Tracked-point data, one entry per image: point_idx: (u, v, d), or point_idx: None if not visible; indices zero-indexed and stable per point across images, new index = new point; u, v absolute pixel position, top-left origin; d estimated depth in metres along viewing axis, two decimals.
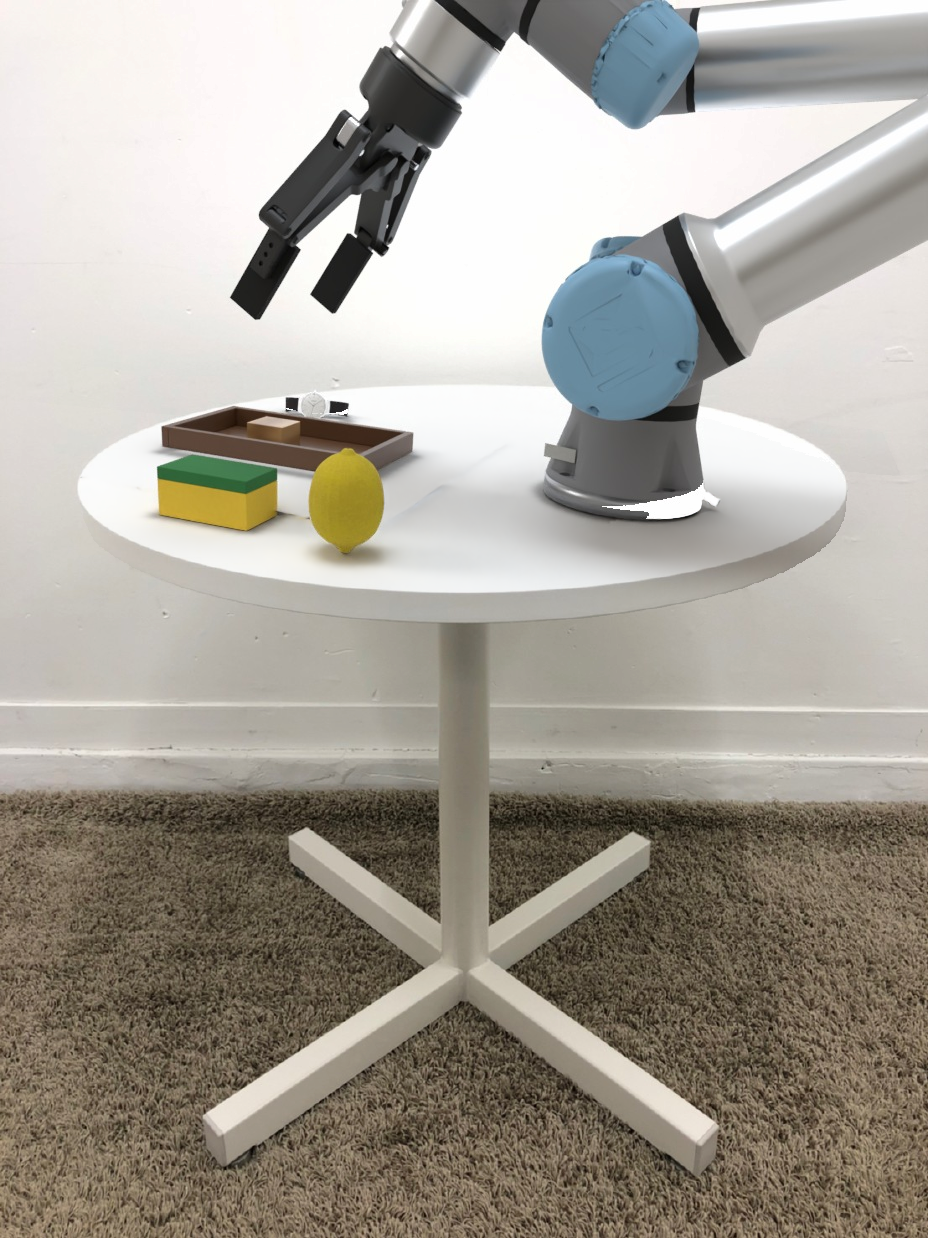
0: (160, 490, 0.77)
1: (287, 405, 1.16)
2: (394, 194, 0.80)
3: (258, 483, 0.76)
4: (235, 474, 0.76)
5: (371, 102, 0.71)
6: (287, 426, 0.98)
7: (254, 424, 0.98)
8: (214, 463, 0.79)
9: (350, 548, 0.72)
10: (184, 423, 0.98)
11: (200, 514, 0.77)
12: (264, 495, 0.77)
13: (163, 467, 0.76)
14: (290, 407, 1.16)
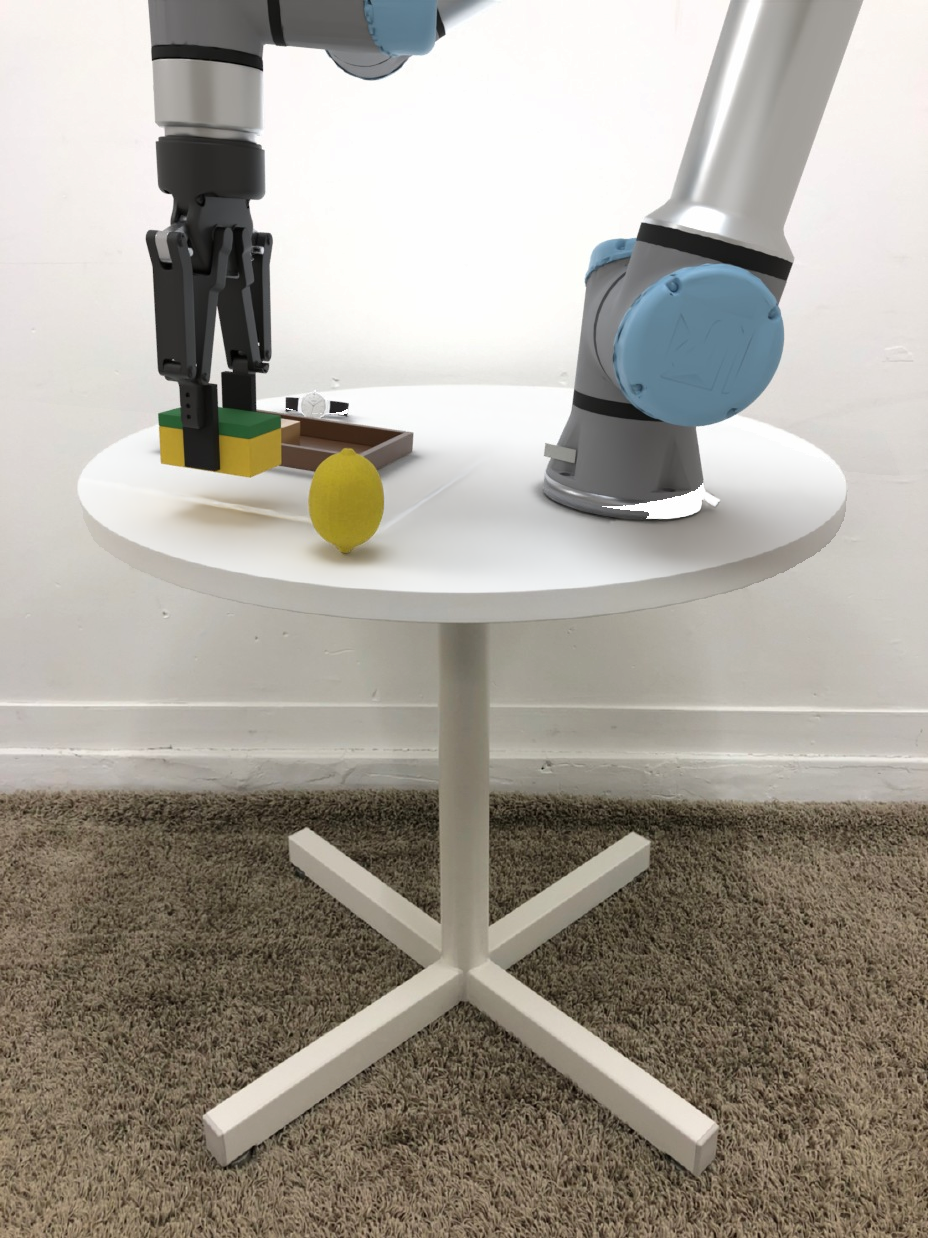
0: (161, 438, 0.75)
1: (287, 405, 1.16)
2: (248, 278, 0.73)
3: (261, 429, 0.75)
4: (238, 420, 0.74)
5: (172, 190, 0.67)
6: (287, 426, 0.98)
7: None
8: None
9: (350, 548, 0.72)
10: None
11: None
12: (267, 442, 0.76)
13: (164, 414, 0.75)
14: (290, 407, 1.16)
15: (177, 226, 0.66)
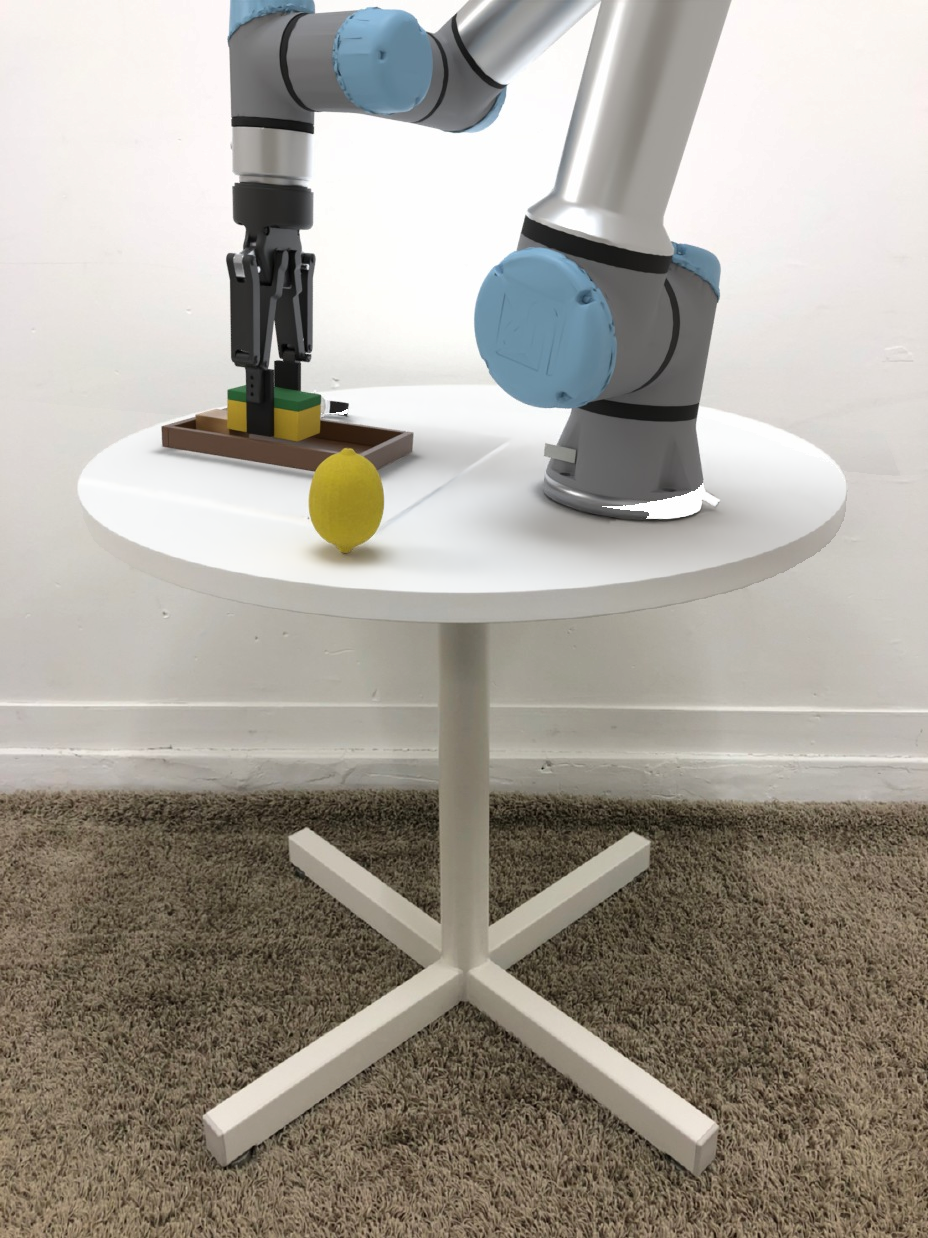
0: (229, 409, 0.98)
1: None
2: (298, 288, 0.95)
3: (307, 404, 0.97)
4: (289, 397, 0.97)
5: (245, 222, 0.89)
6: None
7: (202, 416, 0.99)
8: None
9: (350, 548, 0.72)
10: (184, 423, 0.98)
11: None
12: (311, 415, 0.98)
13: (232, 390, 0.97)
14: None
15: (249, 250, 0.89)
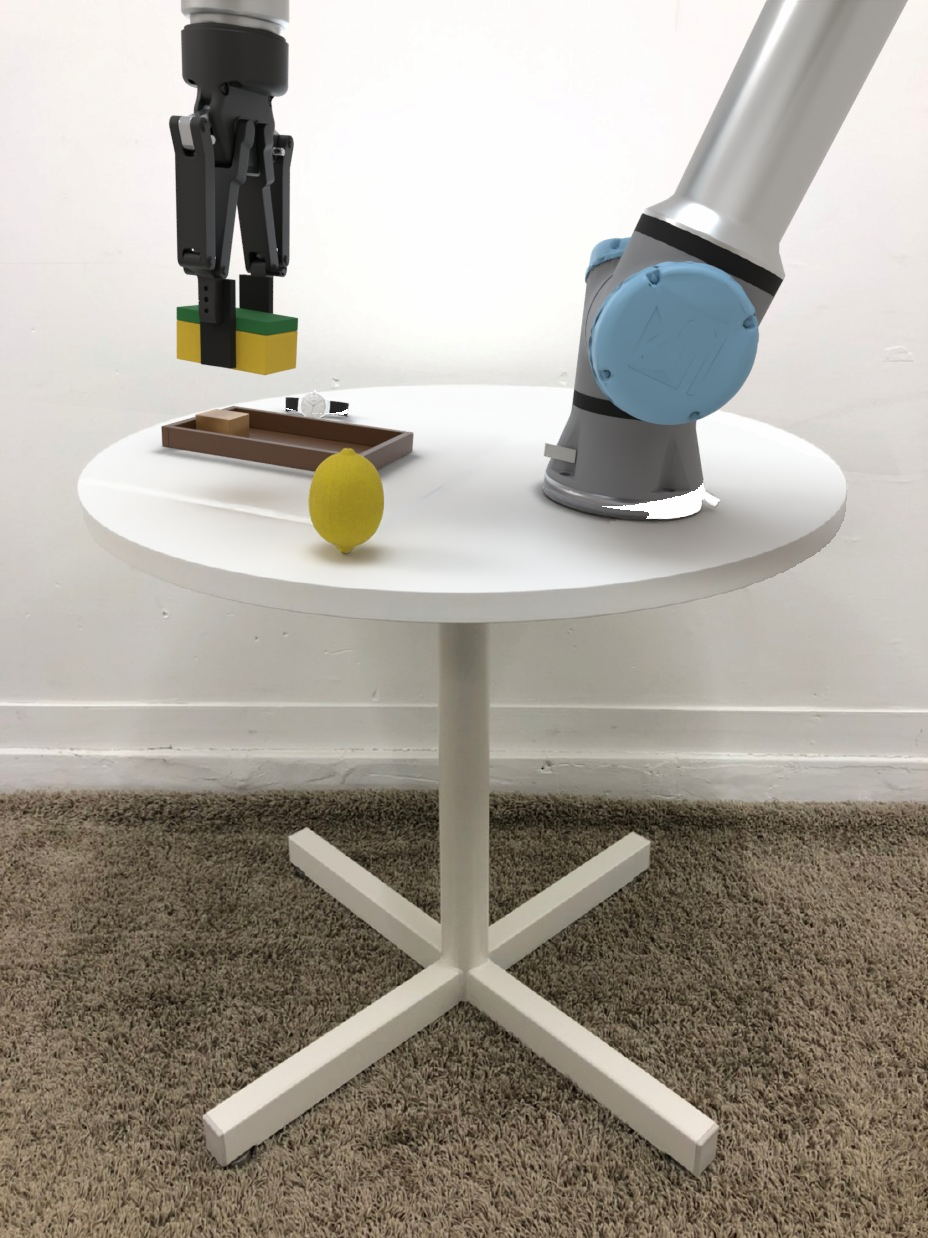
0: (179, 332, 0.76)
1: (287, 405, 1.16)
2: (269, 176, 0.74)
3: (279, 327, 0.75)
4: (255, 317, 0.75)
5: (196, 78, 0.67)
6: (235, 418, 1.00)
7: (202, 416, 0.99)
8: None
9: (350, 548, 0.72)
10: (184, 423, 0.98)
11: None
12: (283, 343, 0.76)
13: (183, 308, 0.75)
14: (290, 407, 1.16)
15: (200, 113, 0.67)
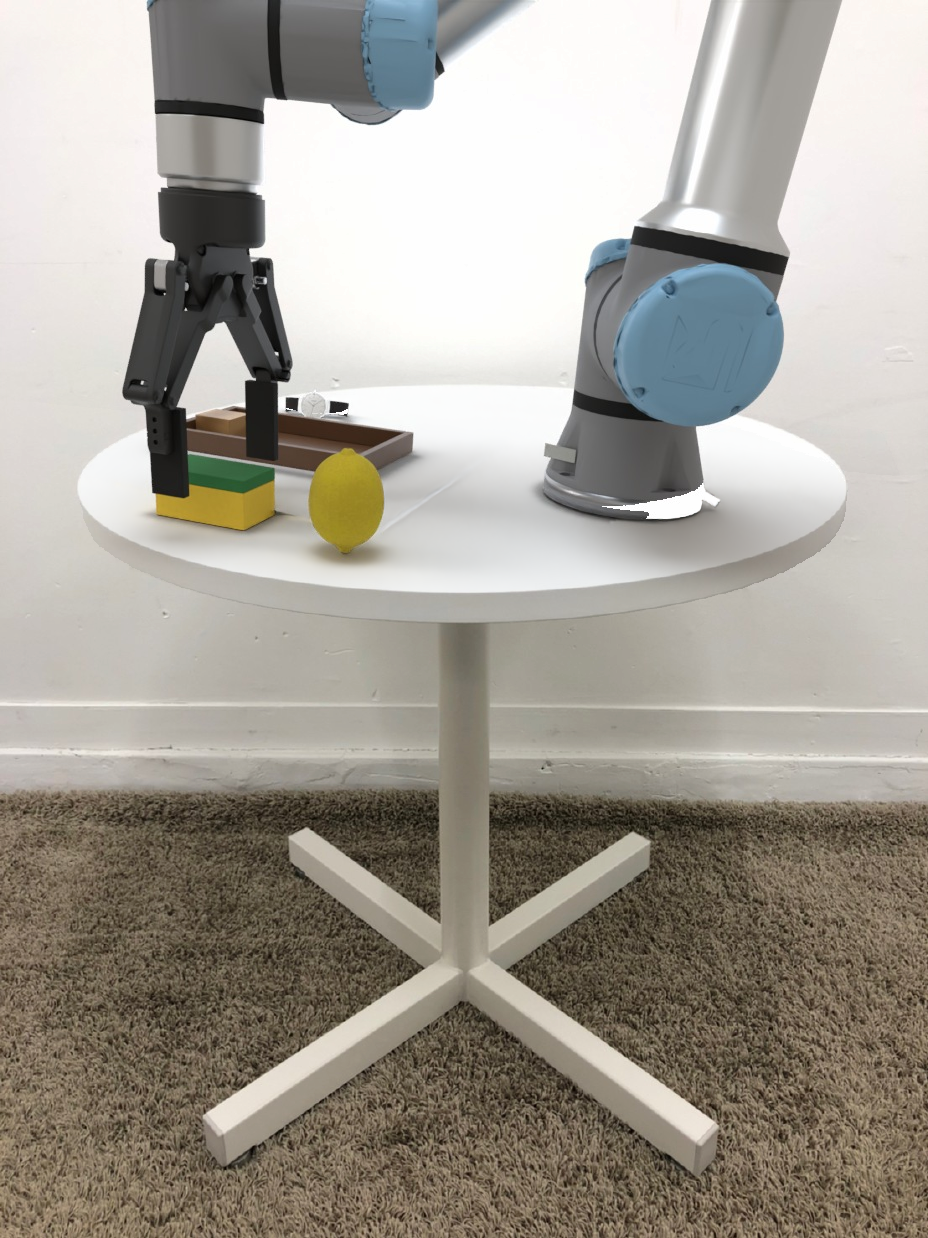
0: None
1: (287, 405, 1.16)
2: (256, 314, 0.75)
3: (255, 482, 0.76)
4: (232, 473, 0.76)
5: (173, 240, 0.68)
6: (235, 418, 1.00)
7: (202, 416, 0.99)
8: (211, 463, 0.79)
9: (350, 548, 0.72)
10: None
11: (197, 514, 0.77)
12: (261, 495, 0.77)
13: None
14: (290, 407, 1.16)
15: None
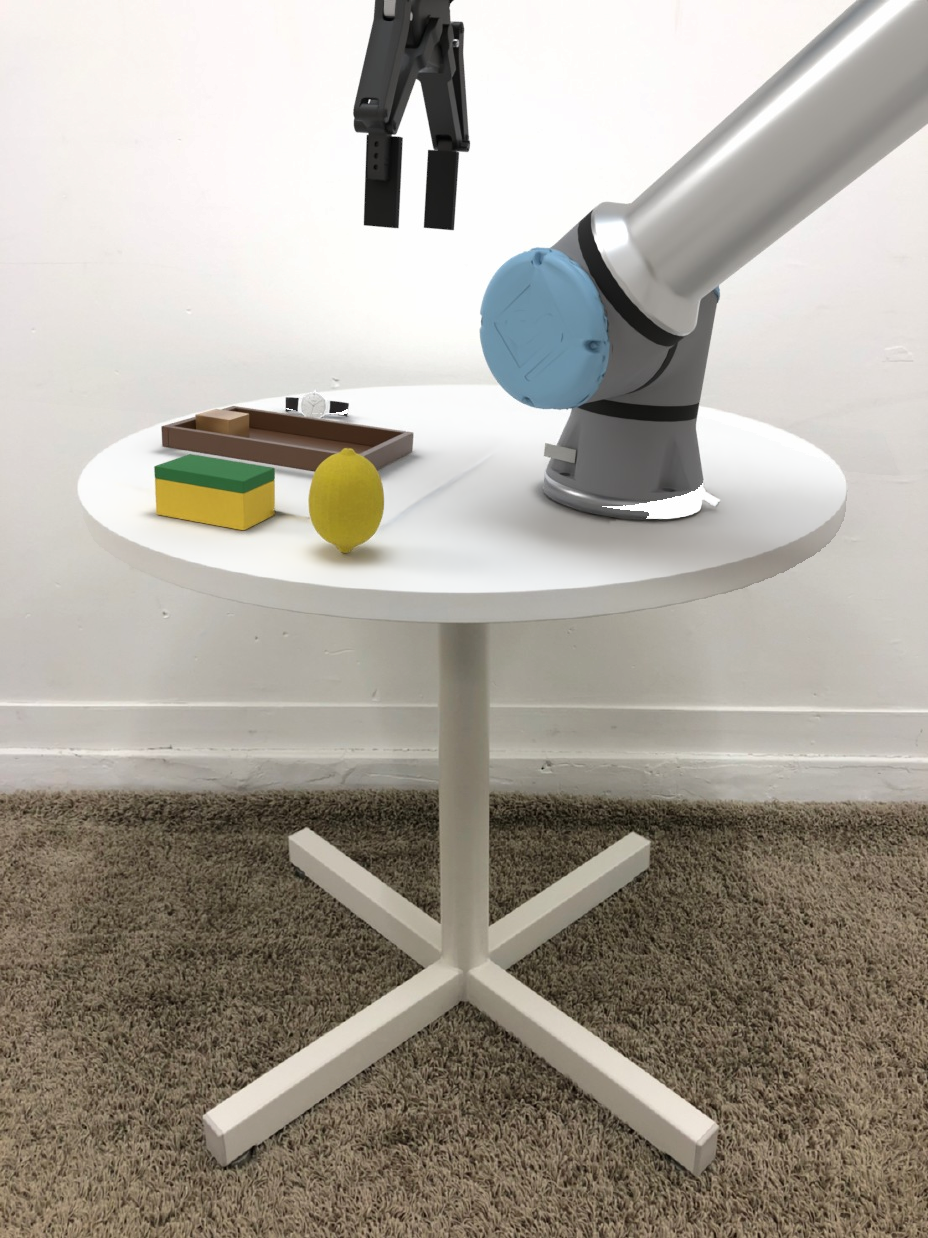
0: (157, 490, 0.77)
1: (287, 405, 1.16)
2: (452, 70, 0.81)
3: (255, 482, 0.76)
4: (232, 473, 0.76)
5: None
6: (235, 418, 1.00)
7: (202, 416, 0.99)
8: (211, 463, 0.79)
9: (350, 548, 0.72)
10: (184, 423, 0.98)
11: (197, 514, 0.77)
12: (261, 495, 0.77)
13: (160, 467, 0.76)
14: (290, 407, 1.16)
15: None
